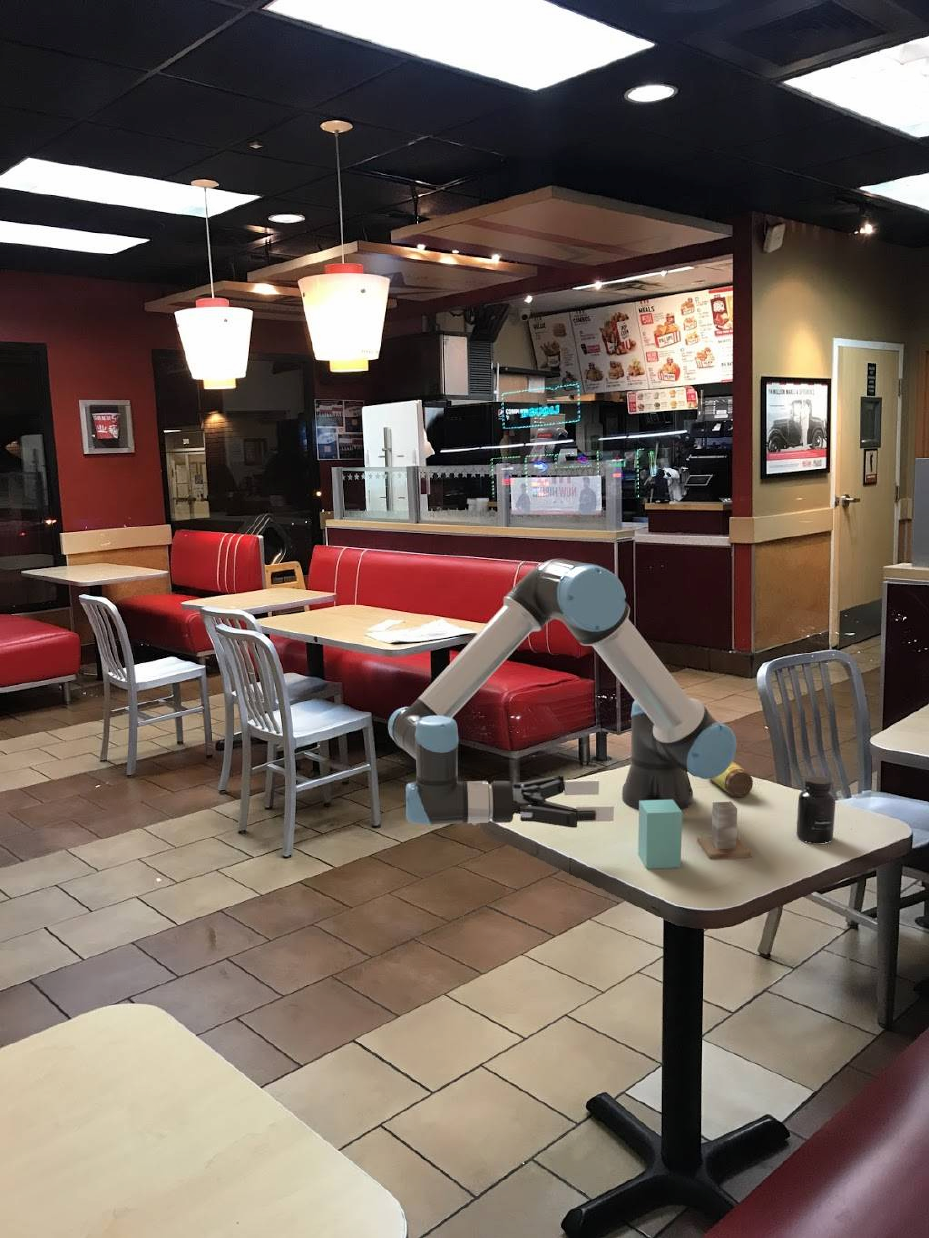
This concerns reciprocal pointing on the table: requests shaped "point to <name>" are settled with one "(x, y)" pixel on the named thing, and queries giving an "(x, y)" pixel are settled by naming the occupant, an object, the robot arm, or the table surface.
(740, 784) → the sauce bottle
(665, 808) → the tall teal pillar
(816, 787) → the supplement bottle
